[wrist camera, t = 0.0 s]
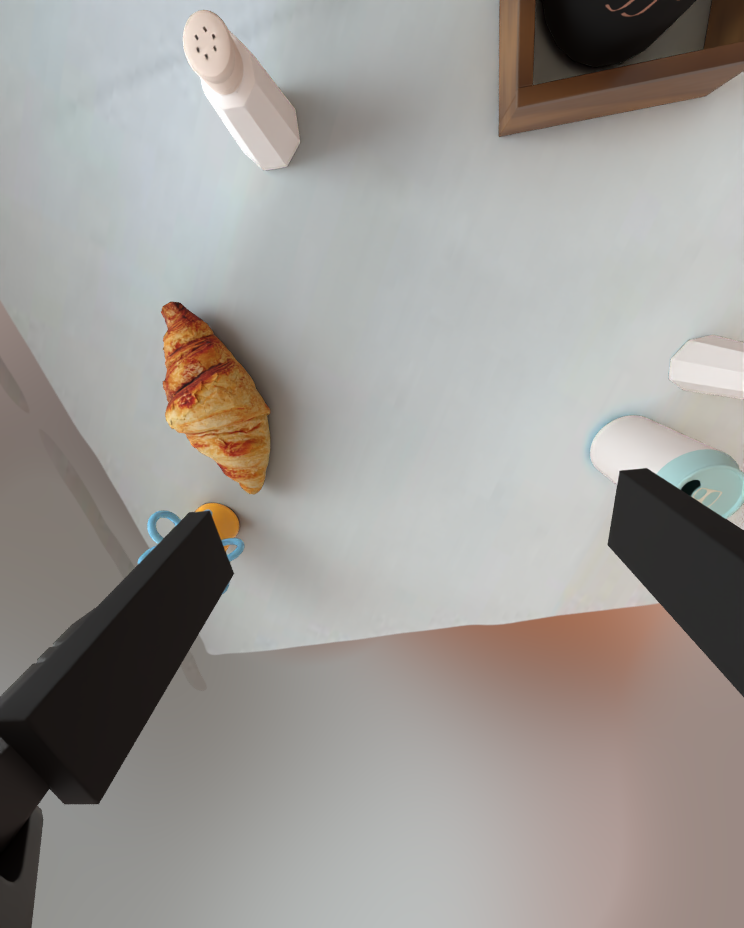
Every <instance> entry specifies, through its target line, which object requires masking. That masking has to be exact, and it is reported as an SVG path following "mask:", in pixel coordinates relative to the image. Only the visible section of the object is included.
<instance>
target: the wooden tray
mask: <svg viewBox="0 0 744 928" xmlns="http://www.w3.org/2000/svg"><path fill="white" fill-rule="evenodd" d="M535 6H536V0H500V7H499V137H501V136H506V135H511V134H516V133H521V132H526V131H531V130H537V129H542V128H547V127H552V126H557V125H562V124H567V123H572V122H577V121H582V120H587V119H592V118H597V117H602V116H607V115H612V114H618V113H623V112H628V111H633V110H638V109H643V108H648V107H653V106H658V105H663V104H668V103H673V102H678V101H683V100H688V99H693V98H698V97H704V96H707V95H708V94H710V93H711V92H713V91H714V90H716V89H717V88H719V87H720V86H722V85H723V84H725V83H726V82H728V81H729V80H731V79H732V78H734V77H735V76H737V75H738V74H740V73H741V72H743V71H744V0H712V4H711V10H710V16H709V21H708V27H707V33H706V39H705V44H704V49H703V50H698V51H694V52H689V53H684V54H679V55H675V56H670V57H665V58H660V59H656V60H651V61H646V62H641V63H637V64H632V65H627V66H622V67H618V68H613V69H608V70H603V71H599V72H594V73H589V74H584V75H580V76H575V77H570V78H565V79H561V80H556V81H551V82H546V83H542V84H537V85H533V66H534V36H535Z"/></svg>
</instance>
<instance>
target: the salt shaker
mask: <svg viewBox="0 0 744 928" xmlns="http://www.w3.org/2000/svg"><path fill="white" fill-rule="evenodd" d="M669 380H670V381H672V382H673V383H674V384H675V385H677V386H678V387H679V388H681V389H682V390H684V391H691V392H698V393H704V394H711V395H717V396H724V397H731V398H737V399H744V342H740V341H736V340H732V339H728V338H724V337H720V336H715V335H710V336H705V337H700V338H696V339H691V340H688V341H687V342H686V343H685V344H684V345H683V346H682V347H681V349H680V350H679V351H678V352H677V353H676V354H675V355H674V356H673V357H672V358H671V361H670V371H669Z"/></svg>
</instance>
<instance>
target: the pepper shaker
mask: <svg viewBox="0 0 744 928" xmlns="http://www.w3.org/2000/svg"><path fill="white" fill-rule="evenodd" d="M183 47H184V51H185V55H186V58H187V60H188V62H189V64H190V66H191V67H192V69H193V70H194V71H195V72H196V73H197V74H198V75H199V76H200V78H201V82H202V87H203V91H204V93H205V95H206V97H207V98H208V100H209V101H210V103H211V104H212V106H213V107H214V109H215V110H216V112H217V113H218V115H219V116H220V118H221V119H222V121H223V122H224V124H225V126H226V127H227V129H228V130H229V132H230V133H231V135H232V136H233V138H234V139H235V141H236V142H237V144H238V145H239V147H240V148H241V150H242V151H243V152H244V153H245V154H246V155H247V156H248V157H249V158H250V159H251V160H253V161H254V162H255V163H256V164H257V165H258V166H259V167H260V168H261V169H262V170H263V171H264V170H271V169H277V168H283V167H287V166H288V164H289V162H290V160H291V159H292V157H293V155H294V153H295V151H296V149H297V148H298V146H299V144H300V136H299V130H298V123H297V116H296V110H295V108H294V107H293V106H292V104H291V103H290V102H289V100H288V99H287V98H286V97H285V95H284V94H283V93H282V91H281V90H280V89H279V87H278V86H277V85H276V84H275V82H274V81H273V80H272V78H271V77H270V76H269V74H268V73H267V72H266V70H265V69H264V68H263V67H262V65H261V64H260V63H259V61H258V60H257V59H256V57H255V56H254V55H253V54H252V53H251V52H250V51H249V50H248V48H247V47H246V46H245V45H244V44H243V43H242V42H241V41H240V40H239V39H238V38H237V37H235V36H234V35H233V34H232V33H231V32H230V31H229V30H228V28H227V26H226V25H225V23H224V22H223V20H222V19H221V18H220V17H219V16H218V15H216V14H215V13H213V12H211V11H207V10H200V11H197V12H195V13H194V14H192V15H191V16H190V18H189V19H188V20H187V22H186V25H185V28H184V33H183Z"/></svg>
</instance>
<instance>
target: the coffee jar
mask: <svg viewBox="0 0 744 928" xmlns="http://www.w3.org/2000/svg"><path fill="white" fill-rule="evenodd" d="M542 1H543V7H544V13H545V20H546V24H547V26H548V28H549V30H550V32H551V34H552V36H553V38H554V40H555V42H556V44H557V46H558V47H559V48H560V49H561V50H563V51H564V52H565V53H566V54H567V55H568V56H569V57H570V58H571V59H572V60H573V61H576V62H580V63H583V64H586V65H589V66H593V67H597V66H604V65H611V64H618V63H622V62H624V61H625V60H627V59H629V58H631V57H633V56H635V55H637V54H639V53H641V52H642V51H644V50H646V49H647V48H648V47H649V46H650V45H651V44H652V43H653V42H654V41H655V40H656V39H657V38H658V37H659V36H661V35H662V34H663V33H664V32H665V31H666V30H667V29H668V28H669V27H670V26H671V25H672V24H673V23H674V22H675V21H676V20H677V19H678V18H679V17H680V16H681V15H682V14H683V13H684V12H685V11H686V10H687V9H688V8H689V7H690V6H691V5H692V4H693V3H694V2H695V1H696V0H542Z"/></svg>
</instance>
